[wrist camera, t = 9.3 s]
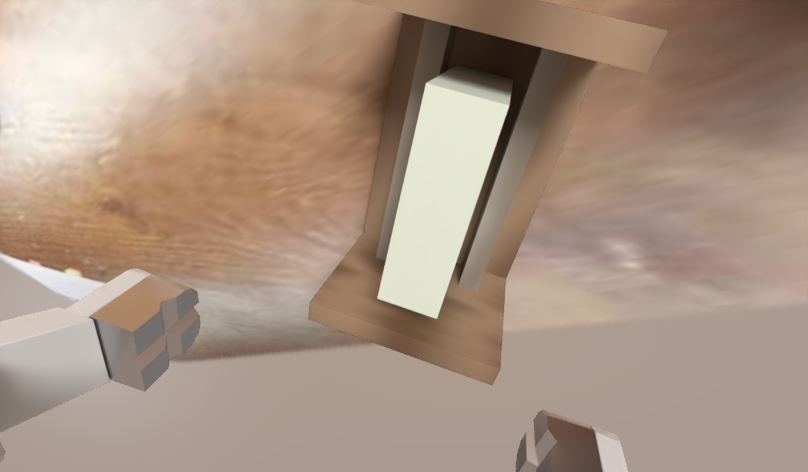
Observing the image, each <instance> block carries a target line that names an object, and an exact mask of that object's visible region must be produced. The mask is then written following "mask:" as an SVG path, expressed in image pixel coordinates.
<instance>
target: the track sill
mask: <svg viewBox="0 0 808 472" xmlns="http://www.w3.org/2000/svg"><path fill="white" fill-rule="evenodd" d="M353 1H357V2H361V3H365V4H369V5H373V6H377V7H381V8H385V9H389V10H393V11H397V12H401V13H404V14H403V19H402V25H401V30H400V36H399V41H398V47H397V52H396V58H395V63H394V69H393V74H392V80H391V85H390V91H389V96H388V102H387V107H386V113H385V118H384V124H383V129H382V135H381V140H380V146H379V151H378V157H377V162H376V168H375V173H374V179H373V184H372V190H371V195H370V201H369V206H368V212H367V217H366V222H365V228H364V233H363V234H362V235H361V237H360V238H359V239H358V240H357V242H356V243H355V244H354V246H353V247H352V248H351V250H350V251H349V252H348V253H347V255H346V256H345V257H344V259H343V260H342V261H341V263H340V264H339V265H338V266H337V268H336V269H335V270H334V272H333V273H332V274H331V276H330V277H329V278H328V279H327V281H326V282H325V283H324V285H323V286H322V287H321V288H320V290H319V291H318V292H317V294H316V295H315V296H314V298H313V299H312V300H311V301H310V308H309V316H308V319H309V320H312V321H315V322H318V323H320V324H323V325H326V326H329V327H332V328H334V329H337V330H340V331H343V332H345V333H348V334H351V335H354V336H356V337H359V338H362V339H365V340H368V341H370V342H373V343H376V344H379V345H381V346H384V347H387V348H390V349H393V350H395V351H398V352H401V353H404V354H406V355H409V356H412V357H415V358H417V359H421V360H423V361H426V362H429V363H431V364H434V365H437V366H440V367H442V368H445V369H448V370H451V371H454V372H457V373H459V374H462V375H465V376H467V377H470V378H473V379H476V380H479V381H481V382H484V383H487V384H490V385H493V383H494V381H495V379H496V377H497V375H498V373H499V371H500V366H501V350H502V333H503V317H504V301H505V285H506V277H507V275H508V273H509V270H510V268H511V266H512V263H513V261H514V259H515V256H516V254H517V252H518V249H519V247H520V245H521V242H522V240H523V238H524V235H525V233H526V231H527V228H528V226H529V224H530V221H531V219H532V217H533V215H534V212H535V210H536V208H537V205H538V203H539V201H540V198H541V196H542V194H543V191H544V189H545V187H546V184H547V182H548V180H549V177H550V175H551V173H552V170H553V168H554V166H555V163H556V161H557V159H558V156H559V154H560V152H561V149H562V147H563V145H564V143H565V140H566V138H567V136H568V133H569V131H570V129H571V126H572V124H573V122H574V119H575V117H576V115H577V112H578V110H579V108H580V105H581V103H582V101H583V98H584V96H585V94H586V91H587V89H588V87H589V84H590V82H591V80H592V77H593V75H594V73H595V71H596V68H597V66H598V64H599V62H601V63H605V64H609V65H613V66H617V67H621V68H625V69H629V70H633V71H637V72H641V73H645V74H647V72H648V70H649V68H650V66H651V64H652V62H653V60H654V58H655V56H656V54H657V52H658V50H659V48H660V46H661V44H662V42H663V40H664V38H665V36H666V34H667V32H668V30H663V29H659V28H655V27H651V26H646V25H642V24H638V23H634V22H629V21H625V20H621V19H617V18H612V17H608V16H604V15H600V14H595V13H591V12H587V11H583V10H578V9H574V8H570V7H566V6H561V5H557V4H553V3H549V2H544V1H540V0H353ZM456 65H460V66H464V67H468V68H472V69H476V70H479V71H483V72H487V73H491V74H495V75H498V76H502V77H506V78H510V79H513V85H512V92H511V98H510V105H509V108H508V111H507V114H506V117H505V120H504V123H503V126H502V129H501V132H500V135H499V138H498V141H497V144H496V147H495V149H494V152H493V155H492V158H491V161H490V164H489V167H488V170H487V173H486V176H485V179H484V182H483V185H482V188H481V191H480V194H479V197H478V200H477V202H476V205H475V208H474V211H473V214H472V217H471V220H470V223H469V226H468V229H467V232H466V235H465V238H464V241H463V244H462V247H461V250H460V253H459V255H458V258H457V261H456V264H455V267H454V270H453V273H452V276H451V279H450V282H449V285H448V288H447V291H446V294H445V297H444V300H443V303H442V306H441V308H440V311H439V314H438V317H437V319H435V318H432V317H429V316H426V315H424V314H421V313H418V312H415V311H412V310H409V309H406V308H403V307H400V306H398V305H395V304H392V303H389V302H386V301H383V300H380V299H377V297H378V293H379V289H380V284H381V280H382V275H383V271H384V266H385V262H386V258H387V253H388V249H389V244H390V240H391V235H392V231H393V227H394V222H395V218H396V213H397V209H398V205H399V200H400V196H401V191H402V187H403V182H404V178H405V174H406V169H407V165H408V160H409V156H410V151H411V147H412V143H413V138H414V134H415V129H416V125H417V120H418V116H419V112H420V107H421V103H422V98H423V94H424V90H425V85H426V83H427V82H429V81H430V80H432V79H434V78H436V77H437V76H439V75H441V74H442V73H444V72H446V71H448V70H449V69H451V68H453V67H455V66H456Z"/></svg>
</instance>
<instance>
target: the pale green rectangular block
mask: <svg viewBox="0 0 808 472" xmlns="http://www.w3.org/2000/svg"><path fill="white" fill-rule="evenodd" d="M512 85H513V79H510V78H506V77H502V76H498V75H495V74H491V73H487V72H483V71H479V70H476V69H472V68H468V67H464V66H460V65H456V66H455V67H453V68H451V69H449V70H448V71H446V72H444V73H442V74H441V75H439V76H437V77H436V78H434V79H432V80H430V81H429V82H427V83H426V85H425V90H424V94H423V98H422V103H421V107H420V112H419V116H418V120H417V125H416V129H415V134H414V138H413V143H412V147H411V151H410V156H409V160H408V165H407V169H406V174H405V178H404V182H403V187H402V191H401V196H400V200H399V205H398V209H397V213H396V218H395V222H394V227H393V231H392V235H391V240H390V244H389V249H388V253H387V258H386V262H385V266H384V271H383V275H382V280H381V284H380V289H379V293H378V297H377V299H380V300H383V301H386V302H389V303H392V304H395V305H398V306H400V307H403V308H406V309H409V310H412V311H415V312H418V313H421V314H424V315H426V316H429V317H432V318H435V319H437V317H438V314H439V311H440V308H441V306H442V303H443V300H444V297H445V294H446V291H447V288H448V285H449V282H450V279H451V276H452V273H453V270H454V267H455V264H456V261H457V258H458V255H459V253H460V250H461V247H462V244H463V241H464V238H465V235H466V232H467V229H468V226H469V223H470V220H471V217H472V214H473V211H474V208H475V205H476V202H477V200H478V197H479V194H480V191H481V188H482V185H483V182H484V179H485V176H486V173H487V170H488V167H489V164H490V161H491V158H492V155H493V152H494V149H495V147H496V144H497V141H498V138H499V135H500V132H501V129H502V126H503V123H504V120H505V117H506V114H507V111H508V108H509V105H510V98H511V92H512Z"/></svg>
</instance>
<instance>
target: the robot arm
mask: <svg viewBox="0 0 808 472" xmlns="http://www.w3.org/2000/svg"><path fill="white" fill-rule="evenodd" d="M198 302H199V300H198V293H197V291H196V290H194V289H192V288H189V287H186V286H184V285H181V284H179V283H176V282H173V281H171V280H168V279H165V278H163V277H160V276H157V275H154V274H151V273H149V272H146V271H143V270H141V269H138V268H135V269H130V270H127V271H125V272H124V273H122V274H121V275H119V276H118V277H116V278H114V279H113V280H111V281H110V282H108V283H106V284H105V285H103V286H102V287H100V288H98V289H97V290H95V291H94V292H92V293H90V294H89V295H87V296H86V297H84V298H83V299H81V300H79V301H78V302H76V303H75V304H73V305H71V306H70V307H68V308H67V309H64V308H61V307H58V308H53V309H50V310H45V311H41V312H37V313H33V314H29V315H25V316H21V317H17V318H13V319H8V320H4V321H0V432H2V431H4V430H7V429H9V428H11V427H13V426H15V425H17V424H20V423H22V422H24V421H26V420H28V419H30V418H32V417H35V416H37V415H39V414H41V413H43V412H45V411H48V410H50V409H52V408H54V407H56V406H58V405H60V404H63V403H65V402H67V401H69V400H71V399H73V398H75V397H78V396H80V395H82V394H84V393H86V392H88V391H91V390H93V389H95V388H97V387H99V386H101V385H104V384H106V383H107V382H109V381H110V379H111V380H114V381H116V382H119V383H122V384H125V385H128V386H131V387H134V388H137V389H139V390H142V391H146V390H147V389H148V388H149V387H150V386H151V385H152V384H153V383H154V382H155V381H156V380H157V379H158V378H159V377H160V376H161V375H162V374H163V373H164V372H165V371H166V370H167V369H168V366H169V359H171V358H173V357H176V356H179V355H181V354H183V353H184V352H185V351H186V350H187V349H188V348H189V347H190V346H191V345H192V343H193V342H194V340H195V338H196V336H197V335H198V332H199V328H200V316H199V314H198V313H197V311H196V310H195V308H194V306H195V305H196V304H197V303H198ZM4 455H5V450H4V448H3V446H2V445H1V443H0V462H1V461H2V460H3V459H4ZM516 472H628V470H627V466H626V462H625V458H624V455H623V451H622V447H621V444H620V440H619V439H618V437H617V436H616V435H615V434H613V433H609V432H607V431H604V430H601V429H598V428H595V427H592V426H589V425H587V424H584V423H581V422H578V421H575V420H572V419H569V418H566V417H563V416H560V415H557V414H554V413H551V412H548V411H545V410H541V411H540V412H538V414H537V415H536V417H535V419H534V429H533V430H530V431H528V432H526V433H525V435H524V437H523V438H522V440H521V442H520V446H519V449H518V453H517V460H516Z"/></svg>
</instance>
